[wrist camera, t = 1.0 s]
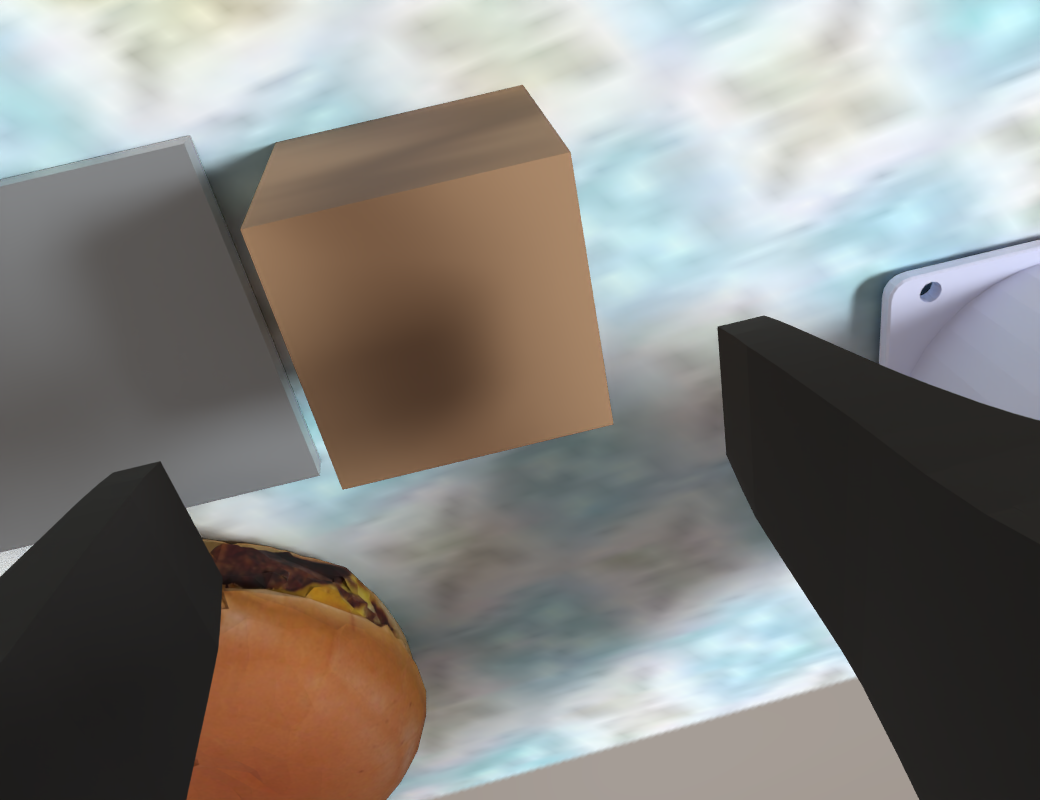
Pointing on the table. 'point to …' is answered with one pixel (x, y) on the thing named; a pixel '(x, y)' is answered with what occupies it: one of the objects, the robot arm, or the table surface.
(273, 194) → the walnut cube
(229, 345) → the slate coaster
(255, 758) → the burger
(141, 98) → the table surface
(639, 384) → the table surface
